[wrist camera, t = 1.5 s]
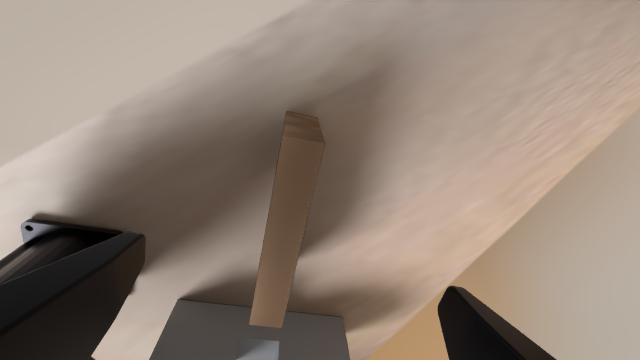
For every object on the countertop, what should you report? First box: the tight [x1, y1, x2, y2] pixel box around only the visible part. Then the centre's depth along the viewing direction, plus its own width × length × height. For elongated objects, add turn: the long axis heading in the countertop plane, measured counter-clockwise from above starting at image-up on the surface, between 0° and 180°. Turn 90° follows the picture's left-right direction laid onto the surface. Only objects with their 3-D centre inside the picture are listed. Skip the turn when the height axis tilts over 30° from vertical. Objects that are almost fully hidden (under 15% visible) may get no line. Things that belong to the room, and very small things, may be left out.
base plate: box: [149, 300, 350, 360], centre depth 24 cm, size 14×2×6 cm, turn 78°
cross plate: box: [249, 112, 325, 328], centre depth 19 cm, size 2×12×6 cm, turn 167°
